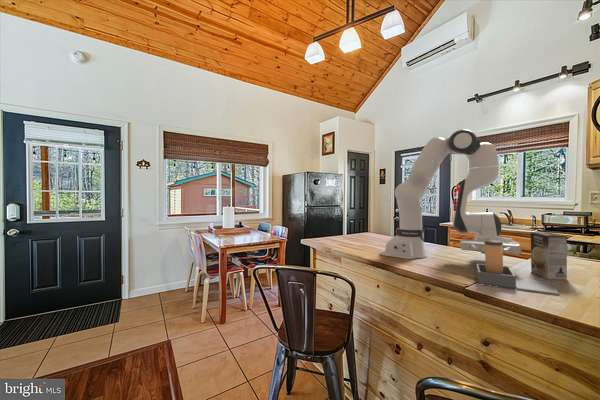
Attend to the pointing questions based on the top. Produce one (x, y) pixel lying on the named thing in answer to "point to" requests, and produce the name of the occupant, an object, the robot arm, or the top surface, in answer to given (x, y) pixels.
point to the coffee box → (549, 255)
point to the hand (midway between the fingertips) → (490, 250)
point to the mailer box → (512, 281)
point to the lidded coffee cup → (494, 256)
